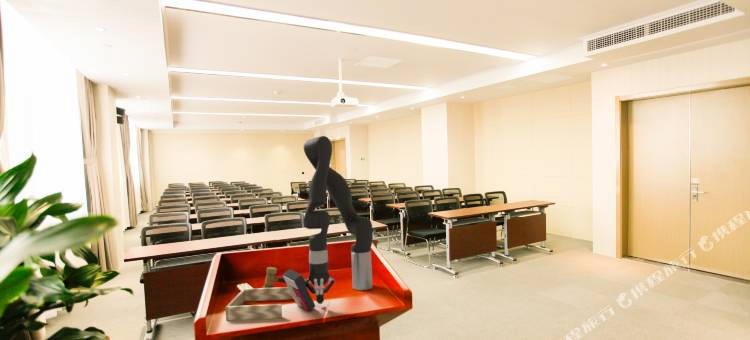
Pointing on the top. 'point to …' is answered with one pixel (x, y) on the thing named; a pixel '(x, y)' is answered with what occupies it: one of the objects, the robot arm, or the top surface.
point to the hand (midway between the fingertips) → (320, 303)
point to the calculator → (299, 289)
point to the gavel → (272, 278)
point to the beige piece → (257, 311)
